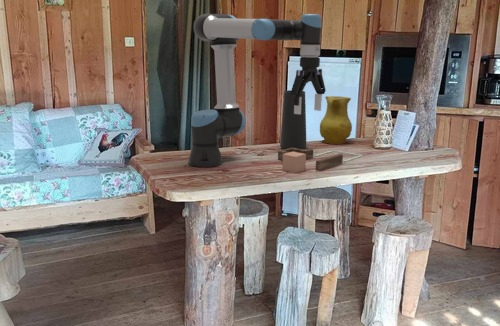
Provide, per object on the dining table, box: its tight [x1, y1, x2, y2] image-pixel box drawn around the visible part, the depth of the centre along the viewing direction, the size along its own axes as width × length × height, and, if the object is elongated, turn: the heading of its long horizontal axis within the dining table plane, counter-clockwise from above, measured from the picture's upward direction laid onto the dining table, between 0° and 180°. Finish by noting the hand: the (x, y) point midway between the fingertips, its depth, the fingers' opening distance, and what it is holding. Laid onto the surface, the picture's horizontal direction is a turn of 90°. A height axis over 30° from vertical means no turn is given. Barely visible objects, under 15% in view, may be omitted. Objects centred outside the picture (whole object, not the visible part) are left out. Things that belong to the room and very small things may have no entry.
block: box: [281, 152, 307, 174], centre depth 207 cm, size 7×7×7 cm
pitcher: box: [319, 95, 353, 145], centre depth 264 cm, size 17×19×25 cm
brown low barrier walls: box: [277, 148, 344, 172], centre depth 221 cm, size 26×18×4 cm
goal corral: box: [313, 149, 364, 163], centre depth 233 cm, size 17×16×1 cm
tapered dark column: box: [279, 89, 307, 150], centre depth 249 cm, size 14×14×29 cm
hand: (307, 112), depth 190 cm, fingers open, 13 cm apart
